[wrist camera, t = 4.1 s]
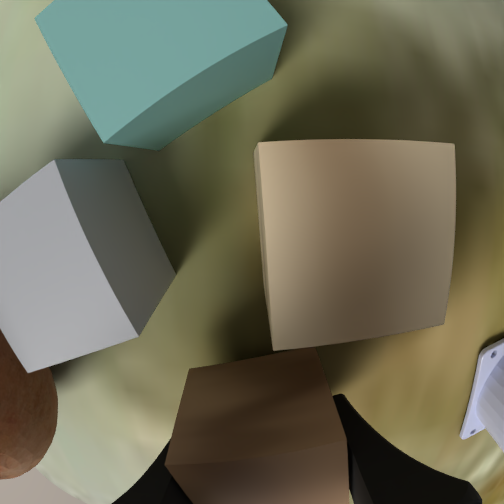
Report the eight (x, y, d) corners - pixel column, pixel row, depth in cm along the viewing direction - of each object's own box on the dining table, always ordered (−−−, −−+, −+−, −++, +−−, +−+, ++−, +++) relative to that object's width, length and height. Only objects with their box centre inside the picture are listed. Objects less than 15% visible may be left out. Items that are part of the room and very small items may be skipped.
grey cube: (124, 159, 11) (54, 159, 7) (176, 274, 13) (138, 336, 8) (37, 214, 12) (-41, 240, 7) (84, 313, 13) (27, 372, 8)
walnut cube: (314, 344, 12) (346, 439, 7) (326, 428, 13) (349, 513, 8) (189, 368, 12) (164, 464, 7) (223, 446, 13) (217, 531, 8)
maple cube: (380, 148, 11) (454, 143, 7) (382, 270, 13) (444, 324, 8) (253, 152, 11) (258, 142, 7) (263, 282, 13) (273, 350, 8)
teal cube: (203, -8, 10) (183, -81, 5) (271, 79, 11) (287, 24, 6) (100, 59, 10) (34, 18, 5) (159, 150, 11) (103, 143, 6)
